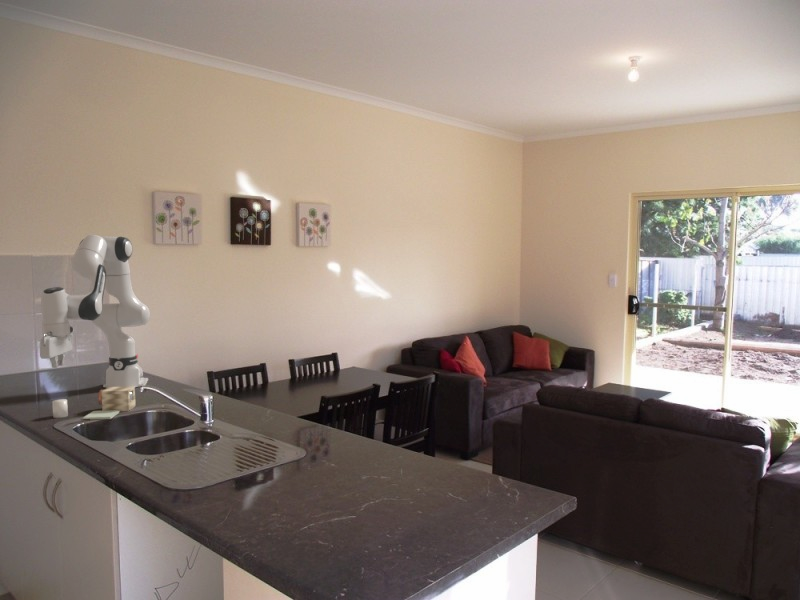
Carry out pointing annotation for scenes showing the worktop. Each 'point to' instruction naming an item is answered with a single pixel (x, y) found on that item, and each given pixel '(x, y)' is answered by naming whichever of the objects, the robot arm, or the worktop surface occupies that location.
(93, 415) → the pad
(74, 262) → the robot arm
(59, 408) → the spacer
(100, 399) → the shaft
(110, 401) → the bearing block
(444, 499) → the worktop surface
